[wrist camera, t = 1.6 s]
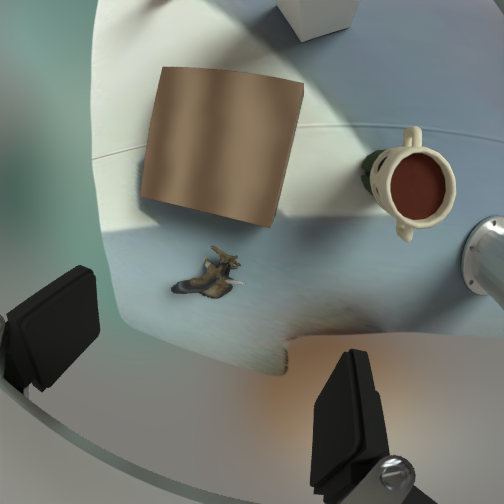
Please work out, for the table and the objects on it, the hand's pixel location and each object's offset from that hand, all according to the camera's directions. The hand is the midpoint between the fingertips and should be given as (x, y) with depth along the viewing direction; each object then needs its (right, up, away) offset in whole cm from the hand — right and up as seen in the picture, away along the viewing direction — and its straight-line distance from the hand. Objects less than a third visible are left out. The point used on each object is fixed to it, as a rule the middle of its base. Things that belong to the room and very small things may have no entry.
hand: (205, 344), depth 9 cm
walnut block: (-1, +17, +25) cm, 30 cm away
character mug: (+18, +13, +23) cm, 32 cm away
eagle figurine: (-3, +1, +32) cm, 32 cm away
